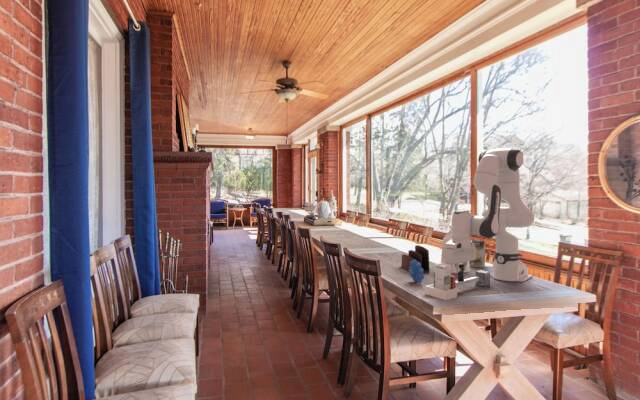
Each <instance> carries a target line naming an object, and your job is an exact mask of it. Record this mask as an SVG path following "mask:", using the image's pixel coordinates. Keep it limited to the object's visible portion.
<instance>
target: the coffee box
mask: <svg viewBox="0 0 640 400" xmlns="http://www.w3.org/2000/svg"><path fill="white" fill-rule="evenodd" d="M471 241H472V242H473V243H474V244H475V248H476V260H473V261H469V264H470V267H474V268H484V267H485V266H486V240H484V239H483V240H481V239H472V238H471Z"/></svg>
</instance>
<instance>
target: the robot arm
mask: <svg viewBox="0 0 640 400" xmlns="http://www.w3.org/2000/svg"><path fill="white" fill-rule="evenodd" d="M523 163H524V154H523V152H522V151H521V150H520V149H517V148H505V147H504V148H495V149H494V148H493V149H485V150H483V151H481V152H480V154H478V164H477V167H476V169H475V173H474V176H473V182H472V183H473V186H474V189H475V190H476V191H478V192H479V193H481V194H483V195H485V196H486V197H487V200H488V202H487V203H488V204H487V207H486V208H484V210H483V211H482V212H481V213H482V214H481V215H475V214H473V213H471V211H470V210H469V209H467V208H461V209H456V210H454V211H453V213H452V217H451V227H452V239H450V240H449V241H448V242H446V243H445V248H446V249H445V253H444V260H445V263H446V264H450V265H452V264H454V266H455V268H456V272H460V270H461V268H459V263H463V264H464V271H466V267H467V264H468V261H473V260H476V248H475V244H474V243H473V242H472V241H471V239H472V237H471V236H475V237H476V236H477V237H483V238H486V239H492V238H494V240H495V252H494V258H495V259H494V260H493V262H492V269H491V270H492V271H491V272H490V277H492V279H494V280H495V279H496V280H498V281H505V282H520V283H521V282H526V281H528V280H529V279H531V278H533V276H532V274H528V267H527V265H526V264H524V262H523V261H522V260H521V258H522V257H523V252H522V253H521V252H519V238H518V237H517V236H515V235H514V234H512V233H511V232H509V231H507V228H515V229H516V228H517V229H519V228H521V229H522V228H530V227H531V226H532V225H533V224H534V221H535V214H534V211H533V210H531V208H529V207H527V205H526V204H525V203H524V201H523V200H522V197H521V192H520V190H521V189H520V179H521V178H520V168H521V166H522V165H523ZM501 201H504V202H506V203H507V204H508V205H509V206H501V203H502V202H501Z"/></svg>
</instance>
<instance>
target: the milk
mask: <svg viewBox="0 0 640 400" xmlns="http://www.w3.org/2000/svg"><path fill="white" fill-rule="evenodd" d="M450 239H452V226H450V227H449V231H447V233H446V235H444V237H443V238H442V245H441V260H440V263H445V260H444V253H445V249H446V248H445V243H446V242H448V241H449V240H450ZM459 264H463V263H459ZM449 265H450V264H449ZM470 267H471V266H470V264H469V261H468V264H467V267H466V271H464V273H470V271H471V269H470ZM451 274H458V272H456V268H455V266H454V264H452V265H451Z"/></svg>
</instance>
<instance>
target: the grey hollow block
mask: <svg viewBox="0 0 640 400" xmlns="http://www.w3.org/2000/svg"><path fill="white" fill-rule="evenodd" d="M490 274H491V271H486V270H482V269H480V270H475V277H476V276H477V277H480V281H476V282H474V283H475V286H479V287H484V288H486V286H487V287H489V286H491V275H490Z"/></svg>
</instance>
